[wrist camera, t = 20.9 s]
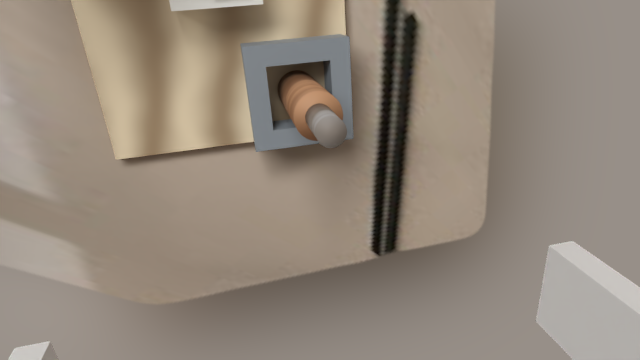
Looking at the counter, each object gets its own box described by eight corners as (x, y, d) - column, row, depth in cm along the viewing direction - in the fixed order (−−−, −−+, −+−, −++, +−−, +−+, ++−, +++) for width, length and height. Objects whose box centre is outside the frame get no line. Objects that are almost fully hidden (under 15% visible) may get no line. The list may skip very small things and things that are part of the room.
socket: (253, 141, 41) (256, 151, 38) (240, 43, 37) (241, 47, 34) (345, 129, 42) (353, 138, 40) (340, 33, 39) (349, 36, 36)
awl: (275, 72, 39) (301, 108, 26) (314, 68, 39) (357, 101, 27) (279, 111, 40) (306, 163, 28) (317, 106, 41) (360, 155, 28)
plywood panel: (118, 156, 40) (116, 159, 39) (56, -66, 32) (51, -68, 32) (347, 126, 43) (350, 128, 42) (337, -80, 36) (340, -82, 35)
